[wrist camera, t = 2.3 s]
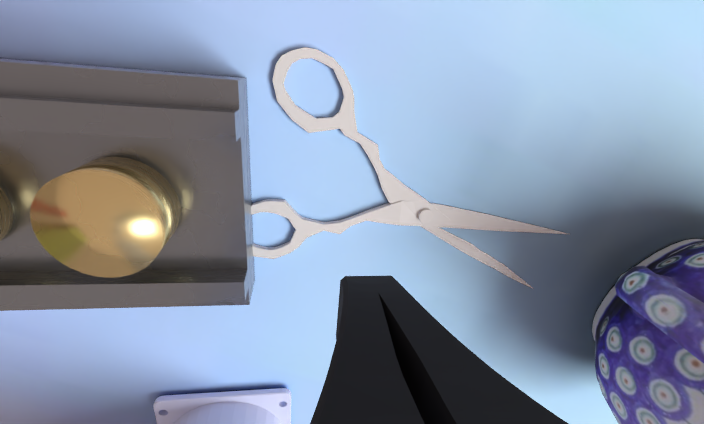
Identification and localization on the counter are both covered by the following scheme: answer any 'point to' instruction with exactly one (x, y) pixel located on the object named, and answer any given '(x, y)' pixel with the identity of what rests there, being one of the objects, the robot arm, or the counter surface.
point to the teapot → (654, 339)
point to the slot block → (139, 144)
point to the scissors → (402, 199)
